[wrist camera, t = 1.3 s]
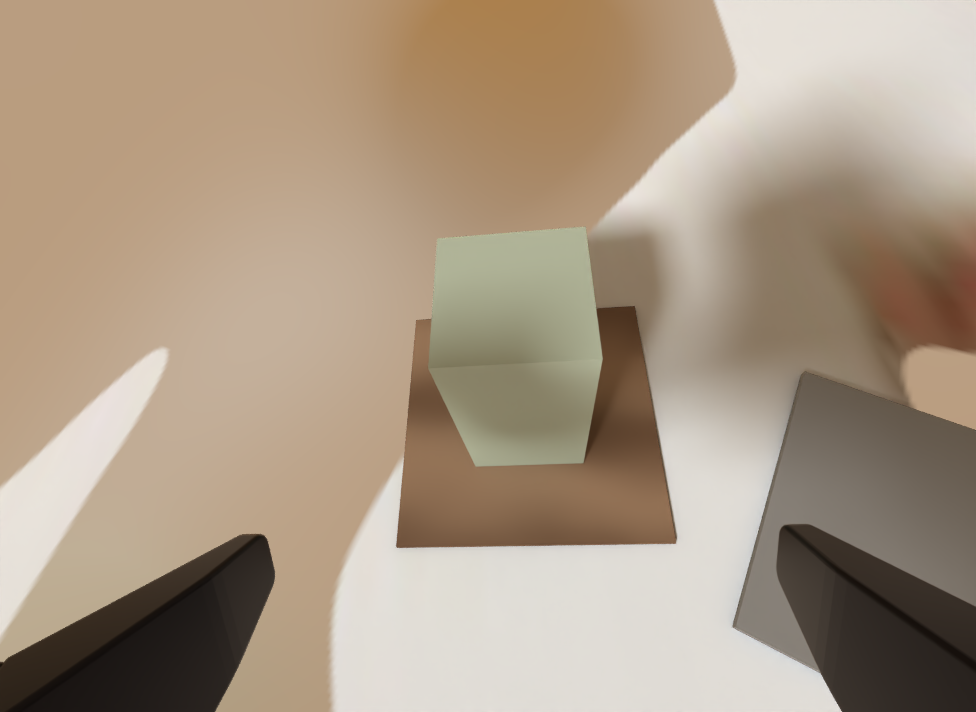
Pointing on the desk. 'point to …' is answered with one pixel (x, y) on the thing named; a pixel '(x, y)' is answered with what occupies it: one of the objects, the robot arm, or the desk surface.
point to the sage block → (517, 344)
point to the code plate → (540, 466)
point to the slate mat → (865, 499)
